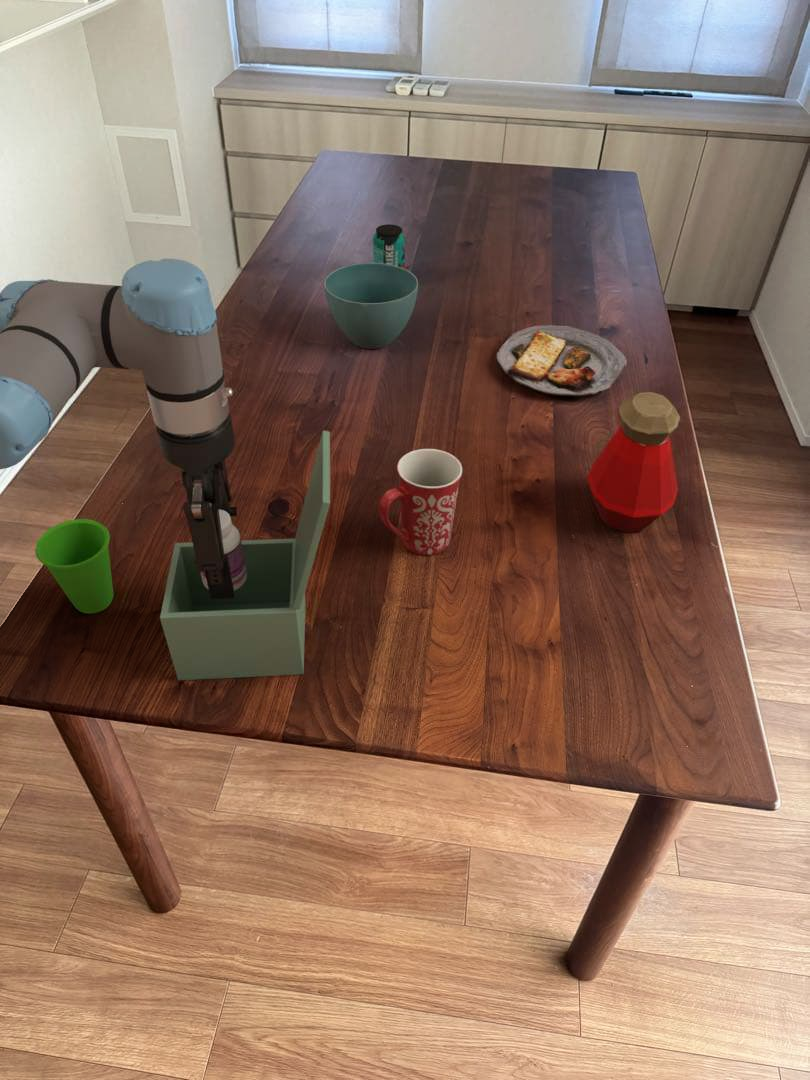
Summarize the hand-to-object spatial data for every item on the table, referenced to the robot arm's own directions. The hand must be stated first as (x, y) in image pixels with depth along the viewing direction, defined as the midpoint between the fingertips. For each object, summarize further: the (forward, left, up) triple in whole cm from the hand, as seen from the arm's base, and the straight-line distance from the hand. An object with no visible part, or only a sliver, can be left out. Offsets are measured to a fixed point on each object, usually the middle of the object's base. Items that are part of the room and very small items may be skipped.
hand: (224, 577), depth 96 cm
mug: (+25, +17, -12) cm, 32 cm away
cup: (-20, +8, -12) cm, 25 cm away
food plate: (+57, +65, -12) cm, 87 cm away
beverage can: (+26, +104, -12) cm, 108 cm away
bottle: (+58, +22, -12) cm, 63 cm away
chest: (+1, 0, -12) cm, 12 cm away
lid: (+11, 0, +9) cm, 14 cm away
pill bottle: (0, 0, 0) cm, 0 cm away
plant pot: (+21, +78, -12) cm, 82 cm away
